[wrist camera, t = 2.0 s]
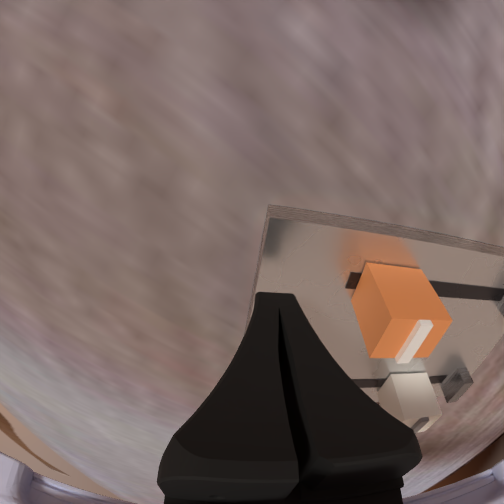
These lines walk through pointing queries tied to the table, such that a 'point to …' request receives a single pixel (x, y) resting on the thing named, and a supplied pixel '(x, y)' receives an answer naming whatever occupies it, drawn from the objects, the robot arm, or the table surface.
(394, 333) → the fader orange
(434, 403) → the fader white
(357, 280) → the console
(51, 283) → the table surface
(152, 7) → the table surface
